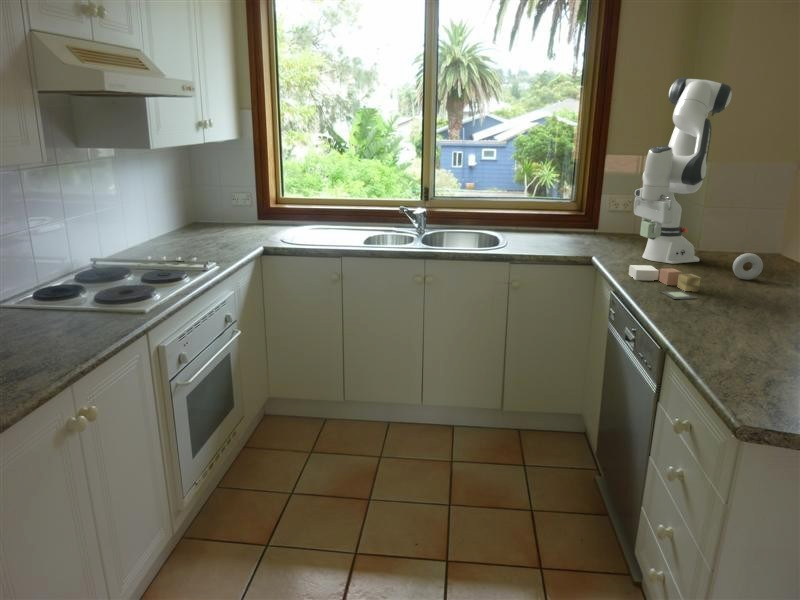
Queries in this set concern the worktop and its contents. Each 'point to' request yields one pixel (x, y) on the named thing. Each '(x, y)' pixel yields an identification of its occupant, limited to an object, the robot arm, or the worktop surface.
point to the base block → (643, 272)
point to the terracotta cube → (669, 276)
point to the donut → (745, 258)
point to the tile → (679, 295)
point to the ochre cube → (688, 282)
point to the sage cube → (648, 229)
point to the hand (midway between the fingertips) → (650, 231)
